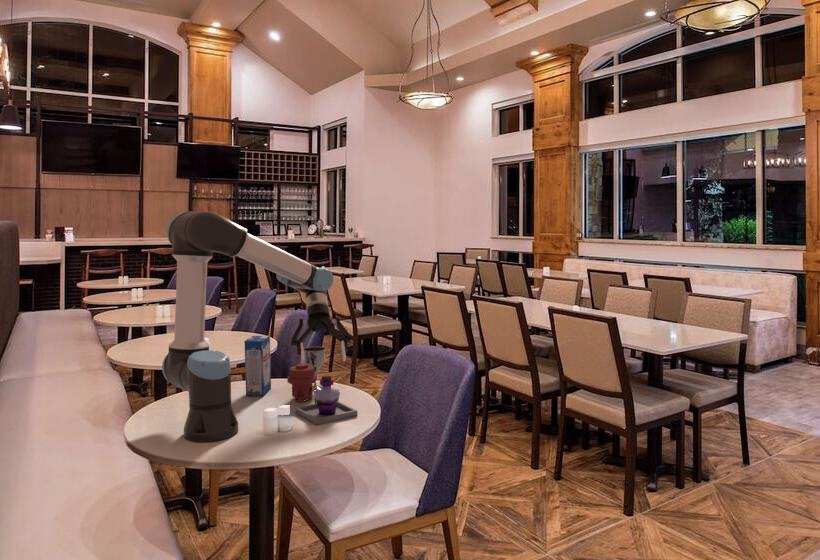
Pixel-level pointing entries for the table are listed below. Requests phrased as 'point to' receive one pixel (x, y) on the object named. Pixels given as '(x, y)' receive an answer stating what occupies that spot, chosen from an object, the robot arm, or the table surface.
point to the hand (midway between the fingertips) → (324, 360)
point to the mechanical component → (302, 381)
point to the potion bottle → (326, 397)
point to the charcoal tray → (314, 417)
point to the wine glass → (314, 360)
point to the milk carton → (257, 366)
